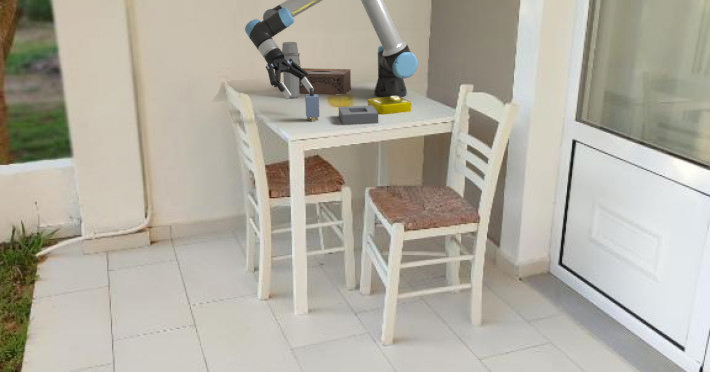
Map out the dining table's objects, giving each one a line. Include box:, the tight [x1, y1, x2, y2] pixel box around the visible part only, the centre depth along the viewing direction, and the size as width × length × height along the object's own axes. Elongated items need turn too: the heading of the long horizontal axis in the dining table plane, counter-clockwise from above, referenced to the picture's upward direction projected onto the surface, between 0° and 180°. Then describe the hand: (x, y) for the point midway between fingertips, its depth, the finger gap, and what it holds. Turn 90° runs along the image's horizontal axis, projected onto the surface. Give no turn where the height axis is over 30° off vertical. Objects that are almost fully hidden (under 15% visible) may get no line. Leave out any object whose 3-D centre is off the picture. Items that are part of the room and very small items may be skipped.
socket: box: [338, 105, 379, 126], centre depth 264 cm, size 14×14×4 cm
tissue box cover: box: [299, 67, 352, 96], centre depth 318 cm, size 26×14×10 cm, turn 78°
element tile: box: [367, 96, 412, 116], centre depth 281 cm, size 15×15×5 cm
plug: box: [304, 88, 320, 123], centre depth 263 cm, size 5×5×13 cm
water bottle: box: [281, 41, 302, 99], centre depth 305 cm, size 9×8×25 cm
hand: (300, 94), depth 264 cm, fingers open, 13 cm apart
